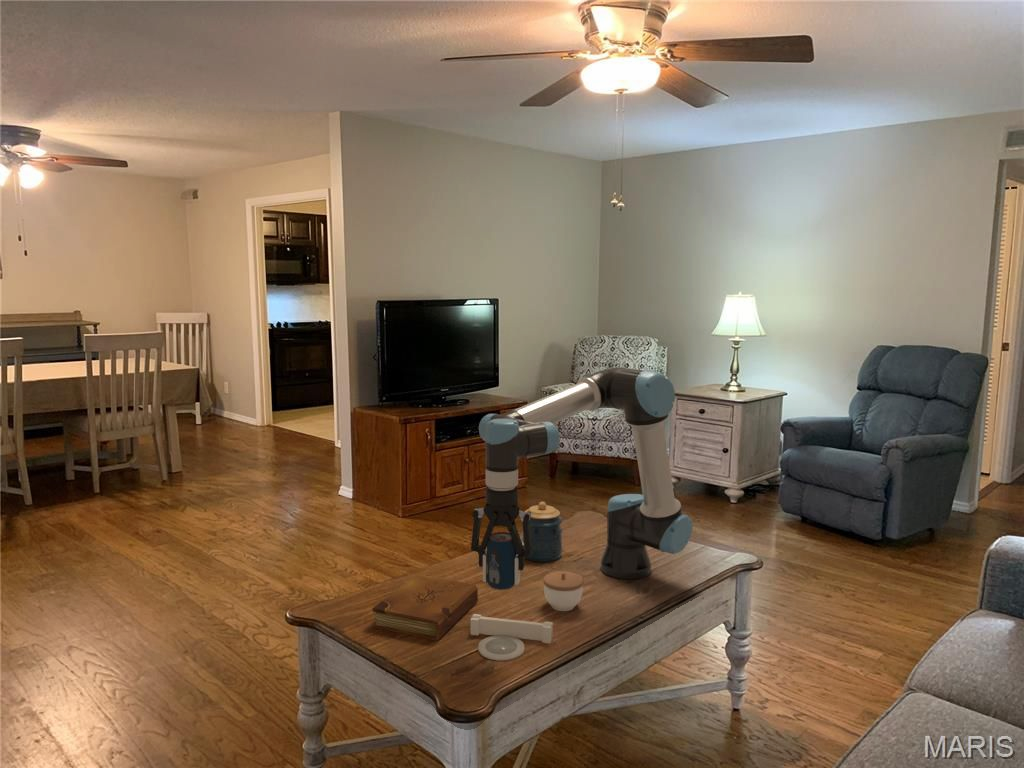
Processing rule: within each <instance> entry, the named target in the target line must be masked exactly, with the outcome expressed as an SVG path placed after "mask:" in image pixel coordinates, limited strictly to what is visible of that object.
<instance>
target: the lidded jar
mask: <svg viewBox="0 0 1024 768" xmlns="http://www.w3.org/2000/svg"><path fill="white" fill-rule="evenodd" d="M583 590H584V578H583V577H582V576H581V575H580V574H578V573H575V572H572V571H566V570H565V571H563V570H561V571H559V570H558V571H551V572H548V573H547V574H545V575H544V577H543V593H544V596H545V599H546V602H547V603H548V604H549V605H550V606H551V608H553V610H556V611H559V612H569V611H572V610H573V609H574V608H575V607H576V606H577V605H578V604H579V603H580V601H581V600H582V595H583Z"/></svg>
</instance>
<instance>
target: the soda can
mask: <svg viewBox="0 0 1024 768" xmlns="http://www.w3.org/2000/svg"><path fill="white" fill-rule="evenodd" d="M486 551H487V581H486V582H487V584H488V585H489V587H490V588H491V589H493V590H496V591H506V590H510V589H512V588H513V586H515V557H516V549H515V546H514V543H513V541H512V538H511V535H510V532H505V531H500V532H498V531H497V532H494V533H493V532H492V534H491V536H490V537H489V540H488V542H487V547H486Z"/></svg>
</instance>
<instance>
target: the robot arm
mask: <svg viewBox="0 0 1024 768" xmlns="http://www.w3.org/2000/svg"><path fill="white" fill-rule="evenodd" d="M675 399H676V392H675V387H674V385H673V382H672V381H671V379H670V378H669V377H668V376H667V375H665V374H663V373H661V372H657V371H654V370H650V369H647V370H644V369H636V368H627V367H620V366H619V367H618V366H617V367H611V368H606V369H603V370H601V371H596V372H594V373H591V374H589V375H587V376H584V377H581V378H580V379H578V380H577V382H576V384H574V385H572V386H570V387H566V388H564V389H562V390H560V391H559V390H558V391H557V392H553V394H549V395H547V396H545V397H542V398H539V399H537V400H534V401H532V402H529V403H528V404H525V405H523V406H520V407H518V408H516V409H513V410H510V411H507V412H505V413H502V414H498V413H488V414H486V415H484V416H483V417H482V418H481V419H480V422H479V425H478V432H479V436H480V438H481V439H482V440H483V441H484V442H485V486H486V487H485V505H484V507H482V508H479V507H476V508H474V509H473V511H472V512H471V513H472V518H473V525H472V526H473V527H472V535H471V543H470V550H471V552H475V553H478V566H479V568H482V582H483V583H486V582H487V542H488V540H489V537H490V536H491V534H493V532H494V529H495V527H499V526H502V527H504V528H507V531H508V533H510V535H511V538H512V541H513V543H514V546H515V549H516V552H517V555H516V557H515V584H514V586H518V585H520V581H521V572H522V571H523V570H524V568H525V565H526V564H525V562H526V561H525V560H526V558H525V556H530V554H531V553H532V551H533V548H532V539H531V530H530V518H531V512H530V511H528V512H525V510H524V511H523V510H521V508H520V507H519V488H518V485H519V461H520V460H519V459H523V458H528V457H534V456H540V455H546V454H549V453H552V452H554V451H556V450H557V449H558V448H559V447H558V446H559V445H560V440H561V439H560V437H561V436H560V435H561V434H560V431H559V429H558V427H557V426H556V425H555V424H557V423H560V422H561V421H565V420H566V419H569V418H570V417H573V416H575V415H578V414H580V413H582V412H585V411H590V412H592V411H596V410H598V409H603V408H604V409H616V410H620V411H623V413H624V418H625V423H626V424H627V425H629V426H630V427H632V434H633V442H634V446H635V453H636V460H637V465H638V466H637V467H638V472H639V478H640V485H641V492H642V494H639V493H626V494H625V493H624V494H619V495H618V494H617V495H614V496H612V497H611V498H609V500H608V503H607V511H606V512H607V521H606V523H607V529H606V530H607V531H606V534H607V535H606V537H607V538H606V546H605V549H604V551H603V554H602V557H601V560H600V570H601V571H602V573H603V574H605V575H606V576H607V575H608V576H609V577H613V578H616V579H621V580H638V579H643V578H646V577H648V576H649V575H650V574H651V571H652V562H651V560H650V557H649V553H648V550H647V547H650V548H652V549H655V550H658V551H660V552H662V553H667V554H671V555H675V554H678V553H680V552H681V551H683V550H684V549H685V548H686V546H687V545H688V543H689V542H690V539H691V537H692V533H693V529H694V528H693V527H694V526H693V521H692V519H691V517H689V516H688V515H687V514H683V510H682V504H681V501H680V500H678V499H677V498H675V493H674V487H673V480H672V472H671V465H670V457H669V451H668V445H667V436H666V430H665V422H666V421H667V420H668V418H669V414H670V413H671V411H673V408H674V404H673V403H675ZM484 514H485V516H486V517H487V519H488V520H489V522H488V525H487V527H486V530H485V532H484V535H483V538H482V541H481V543H480V535H481V534H480V533H481V525H482V518H483V516H484ZM518 517H520V521H521V522H522V521H523V522H522V528H523V534H524V544H525V549H524V547H523V544H522V542H521V541H522V538H521V536H520V534H519V530H518V528H517V523H516V520H517V518H518ZM479 543H480V544H479ZM520 570H521V572H520Z"/></svg>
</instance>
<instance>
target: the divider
mask: <svg viewBox="0 0 1024 768" xmlns="http://www.w3.org/2000/svg"><path fill="white" fill-rule="evenodd" d="M553 624H554V623H553V622H551V621H543V622H535V621H527V620H525V621H524V620H518V619H517V620H516V619H508V618H507V619H506V618H500V617H499V618H498V617H490V616H489V617H488V616H482V614H478V613H477V614H476V613H473V615H472V616H471V618H470V636H479V635H484V636H485V635H486V636H487V635H488V636H496V635H507V636H512V637H515V638H518V639H520V640H521V639H522V640H523V639H524V640H531V641H540V642H542V643H543V644H548V645H549V644H551V643H552V640H553Z"/></svg>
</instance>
